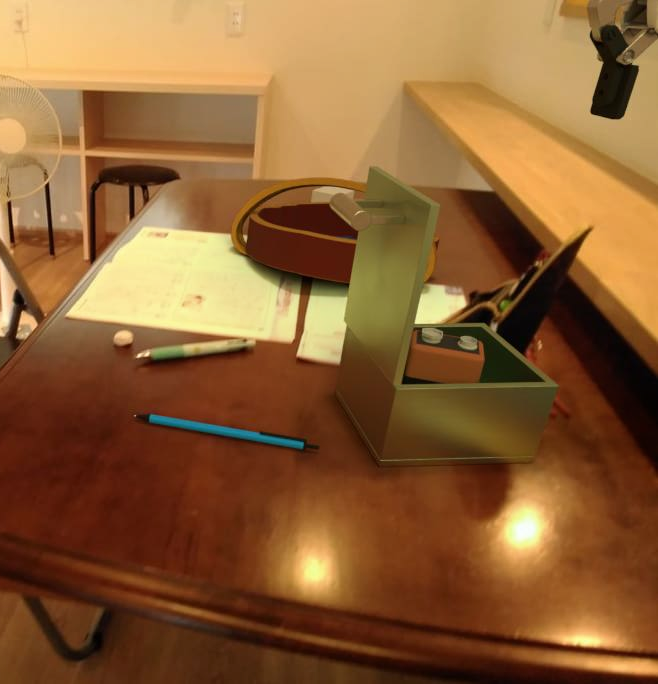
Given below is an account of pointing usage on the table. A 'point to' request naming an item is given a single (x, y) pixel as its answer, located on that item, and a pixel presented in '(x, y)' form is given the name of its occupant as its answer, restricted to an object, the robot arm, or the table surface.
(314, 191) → the white cube
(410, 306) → the bin lid
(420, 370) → the battery
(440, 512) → the table surface
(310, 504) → the table surface
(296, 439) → the pen
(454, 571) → the table surface
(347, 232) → the decorative basket
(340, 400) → the bin
